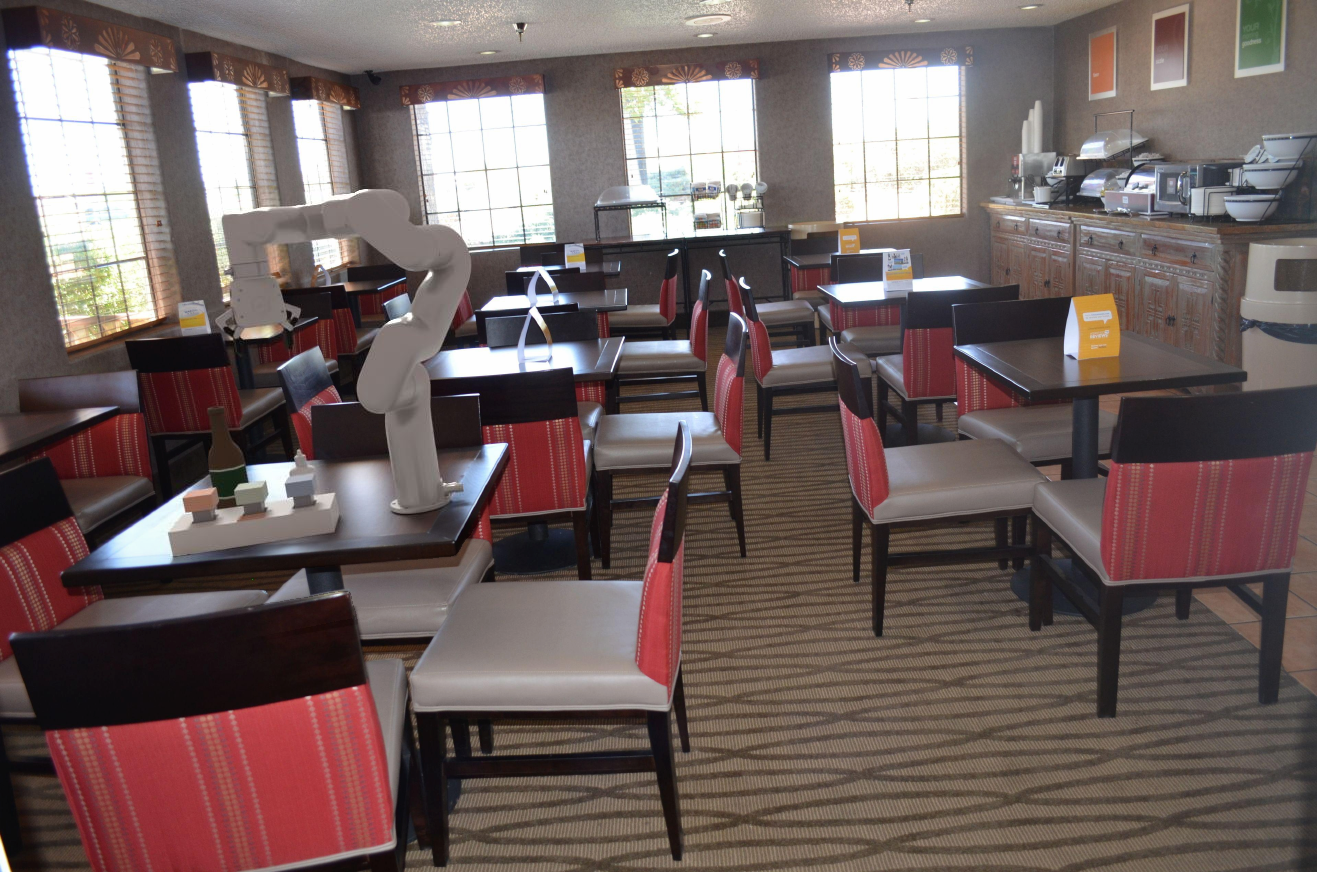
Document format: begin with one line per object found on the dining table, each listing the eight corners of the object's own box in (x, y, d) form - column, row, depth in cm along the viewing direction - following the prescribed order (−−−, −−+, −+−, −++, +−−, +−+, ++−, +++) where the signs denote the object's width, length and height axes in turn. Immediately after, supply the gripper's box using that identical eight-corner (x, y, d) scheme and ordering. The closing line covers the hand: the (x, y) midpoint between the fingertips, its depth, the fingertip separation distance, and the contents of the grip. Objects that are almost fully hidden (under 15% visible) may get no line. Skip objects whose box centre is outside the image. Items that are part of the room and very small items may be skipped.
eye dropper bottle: (312, 504, 212) (302, 452, 209) (291, 504, 214) (281, 452, 211) (324, 498, 216) (315, 447, 213) (304, 498, 218) (294, 447, 215)
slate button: (321, 510, 198) (314, 473, 196) (318, 517, 193) (311, 479, 191) (295, 514, 197) (288, 477, 195) (291, 521, 192) (284, 483, 190)
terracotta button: (224, 524, 194) (216, 487, 192) (218, 532, 189) (210, 494, 187) (196, 529, 193) (188, 491, 191) (190, 536, 188) (182, 498, 186)
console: (339, 514, 202) (335, 491, 201) (334, 532, 191) (329, 506, 189) (187, 537, 196) (182, 513, 195) (173, 556, 184) (167, 531, 183)
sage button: (273, 517, 196) (265, 480, 194) (269, 525, 191) (261, 486, 189) (246, 521, 195) (238, 484, 193) (241, 529, 190) (233, 490, 188)
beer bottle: (260, 506, 214) (240, 402, 209) (247, 517, 207) (225, 409, 201) (226, 509, 214) (204, 405, 209) (211, 520, 207) (189, 412, 201)
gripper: (211, 276, 191) (228, 360, 195) (298, 267, 201) (312, 347, 205) (202, 276, 197) (218, 358, 201) (287, 267, 207) (301, 345, 211)
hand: (266, 352), depth 203 cm, fingers open, 9 cm apart
